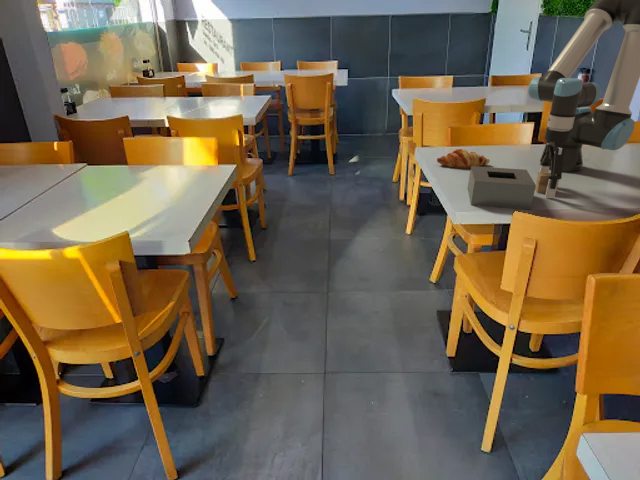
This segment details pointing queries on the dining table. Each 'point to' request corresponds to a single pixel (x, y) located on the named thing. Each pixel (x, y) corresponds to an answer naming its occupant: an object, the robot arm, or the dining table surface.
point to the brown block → (542, 182)
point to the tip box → (501, 187)
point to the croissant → (462, 159)
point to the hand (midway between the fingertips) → (545, 190)
